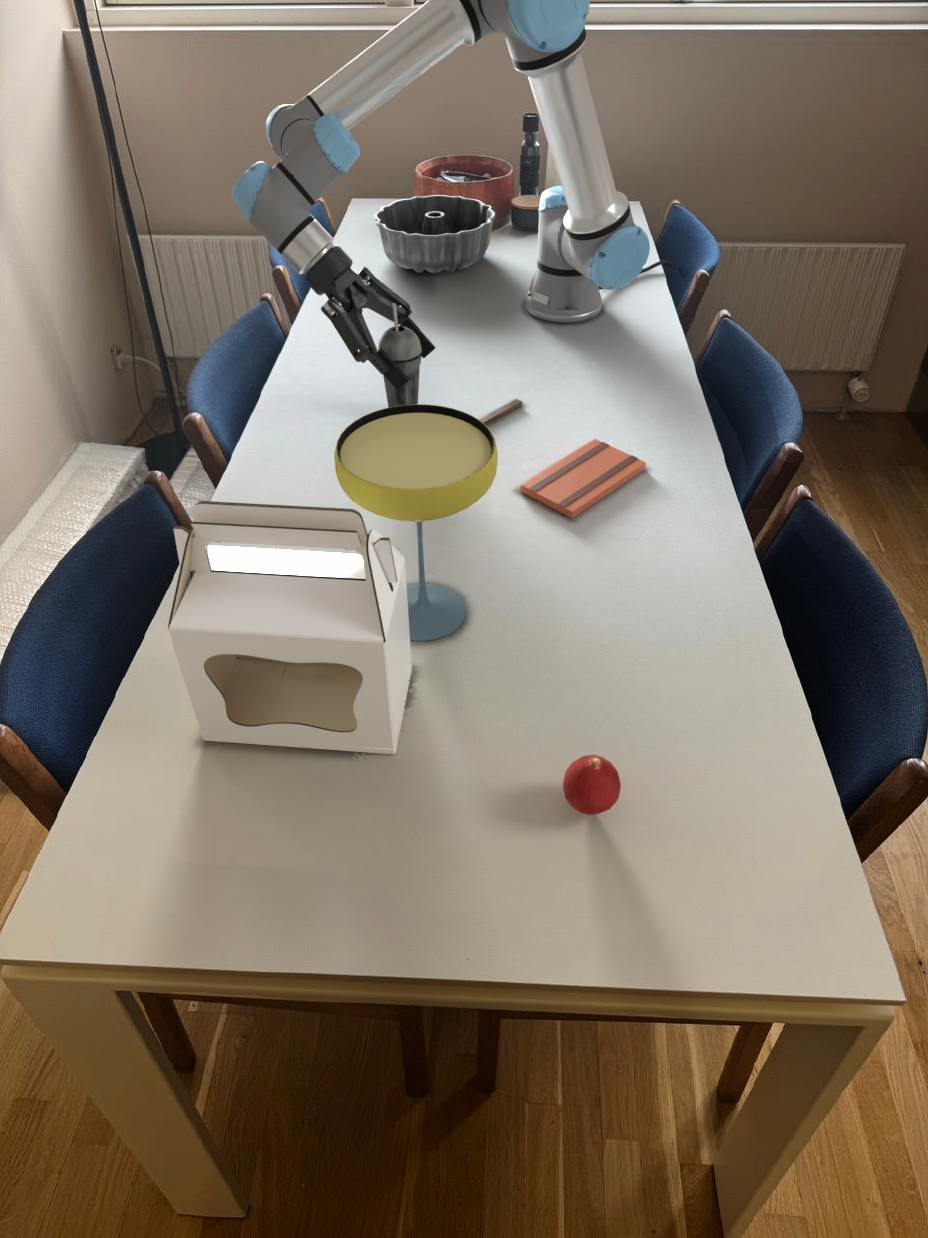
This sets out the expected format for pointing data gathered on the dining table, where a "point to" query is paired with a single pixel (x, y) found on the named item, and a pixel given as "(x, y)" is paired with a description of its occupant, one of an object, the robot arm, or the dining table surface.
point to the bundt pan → (435, 232)
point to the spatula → (501, 411)
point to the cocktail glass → (418, 485)
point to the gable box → (292, 628)
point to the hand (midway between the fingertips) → (417, 368)
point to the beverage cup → (402, 362)
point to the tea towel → (583, 477)
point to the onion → (591, 784)
